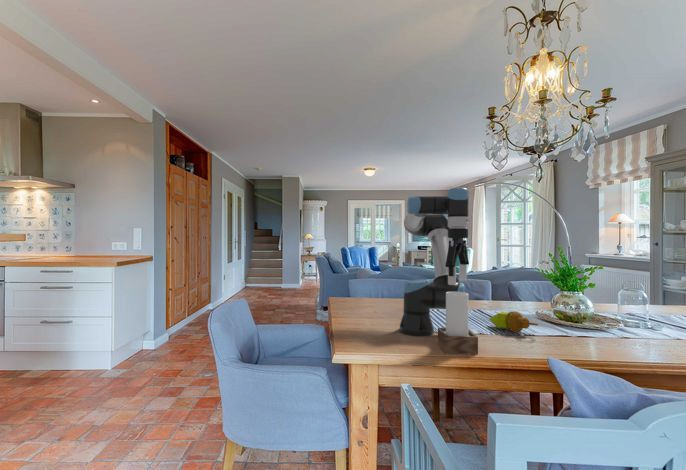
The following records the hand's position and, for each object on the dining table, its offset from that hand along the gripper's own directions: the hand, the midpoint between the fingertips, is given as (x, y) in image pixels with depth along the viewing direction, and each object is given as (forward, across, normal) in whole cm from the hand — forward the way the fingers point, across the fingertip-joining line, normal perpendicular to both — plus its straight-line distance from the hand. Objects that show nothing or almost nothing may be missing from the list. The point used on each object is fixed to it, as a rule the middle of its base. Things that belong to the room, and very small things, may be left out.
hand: (457, 282), depth 132 cm
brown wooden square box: (+25, -2, 0) cm, 25 cm away
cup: (+20, -1, 0) cm, 20 cm away
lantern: (+26, +37, -13) cm, 47 cm away
